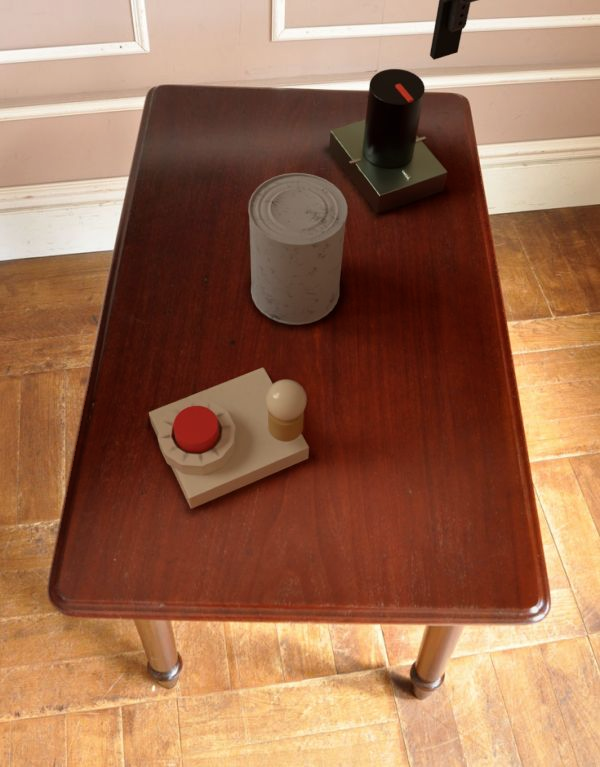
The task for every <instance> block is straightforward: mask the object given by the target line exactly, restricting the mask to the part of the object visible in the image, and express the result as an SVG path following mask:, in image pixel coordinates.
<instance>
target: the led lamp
mask: <svg viewBox="0 0 600 767" xmlns="http://www.w3.org/2000/svg"><path fill="white" fill-rule="evenodd" d="M307 398H308V397H307V393H306V390H305V389H304V387H303V386H302V385H301V384H300V383H299V382H297V381H296V380H293V379H285V378H284V379H279V380H277V381H275V382H274V383H273V384H272V385H271V386H270V388H269V389H268V391H267V394H266V398H265V401H266V407H267V409H268V430H269V432H270V434H271V435H272V436H273V437H274V438H275V439H277V440H279V441H283V442H288V441H292V440H294V439H296V438H298V437H299V436H300V434H302V433H303V431H304V417H305V415H304V414H305V409H306V406H307V402H308V399H307Z"/></svg>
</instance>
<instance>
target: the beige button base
mask: <svg viewBox="0 0 600 767" xmlns="http://www.w3.org/2000/svg"><path fill="white" fill-rule="evenodd" d="M272 384H274V383H273V381H272V379H271V378H270V376H269V375H268V373H267V371H266V369H265V368H264V367H260V368H258V369H255V370H253V371H250V372H248V373H245V374H243V375H240V376H237V377H235V378H233V379H230V380H227V381H224V382H222V383H219V384H217V385H214V386H212V387H209V388H207V389H203V390H201V391H199V392H197V393H194V394H191V395H189V396H187V397H183V398H181V399H178V400H176V401H174V402H171V403H168V404H166V405H163V406H160V407H158V408H156V409H154V410H151V411H149V412H148V416H149V421H150V424H151V426H152V428H153V431H154V433H155V435H156V437H157V442H158V446H159V449H160V452H161V453H162V456H163V458H164V460H165V462H166V464H167V465H168V466H170V467H171V469H172V471H173V474H174V476H175V478H176V480H177V482H178V484H179V486H180V489H181V491H182V493H183V495H184V498H185V499H186V502H187V504H188V505H189V508H190V509H195V508H196V507H199V506H202V505H204V504H206V503H208V502H211V501H213V500H216V499H217V498H220V497H222V496H225V495H227V494H229V493H231V492H233V491H236V490H238V489H241V488H243V487H245V486H247V485H250V484H252V483H255V482H257V481H259V480H262V479H263V478H266V477H269V476H271V475H273V474H275V473H278V472H280V471H283V470H284V469H287V468H289V467H292V466H293V465H296V464H299V463H301V462H304V461H306V460H308V459H309V454H310V447H309V444H308V443H307V441H306V439H305V438H304V436H303V434H302V433H301V434H300V436H299V437H298V438H296V439H294V440H292V441H288V442H283V441H279V440H277V439H275V438H274V437H273V436H272V435H271V434H270V432H269V430H268V409H267V407H266V401H265V398H266V394H267V391H268V389H269V388H270V386H271V385H272ZM190 406H203V407H206V408H208V409H210V410H211V411H213V412H214V414H215V415H216V417H217V419H218V426H219V438H218V440H217V442H216V444H215V445H214V446H213V447H212V448H211V449H209V450H207V451H205V452H201V453H191V452H188V451H185V450H184V449H182V448H181V447H180V446H179V445H178V443H177V441H176V438H175V433H174V428H173V424H174V420H175V418H176V416H177V415H178V413H179V412H181V411H182V410H183V409H185V408H187V407H190Z"/></svg>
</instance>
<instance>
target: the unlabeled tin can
mask: <svg viewBox="0 0 600 767" xmlns="http://www.w3.org/2000/svg"><path fill="white" fill-rule="evenodd" d="M348 209H349V208H348V203H347V200H346V198H345V196H344V194H343V193H342V191H341V189H339V188H338V187H337V185H335V184H334V183H332V182H330V181H329V180H327V179H326V178H323V177H320V176H318V175H314V174H310V173H305V172H304V173H303V172H290V173H283V174H279V175H276V176H273V177H271V178H269V179H267V180H265V181H264V182H262V183H261V184H260V185H259V186H257V187H256V188H255V189H254V191H253V193H251V196H250V199H249V200H248V208H247V211H248V216H249V245H250V246H249V247H250V248H249V250H250V273H251V274H250V275H251V276H250V277H251V278H250V279H251V284H250V294H251V299H252V302H253V303H254V305H255V307H256V308H257V310H259V311H260V312H261V314H263V315H264V316H266V317H267V318H268V319H270V320H273V321H275V322H277V323H280V324H284V325H289V326H290V325H295V326H301V325H308V324H312V323H314V322H317V321H319V320H321V319H323V318H325V317H326V316H328V314H330V312H332V311H333V309H334V308H335V306H336V305H337V303H338V300H339V298H340V284H341V283H340V282H341V271H342V263H343V254H344V253H343V252H344V243H345V233H346V224H347V218H348Z"/></svg>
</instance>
